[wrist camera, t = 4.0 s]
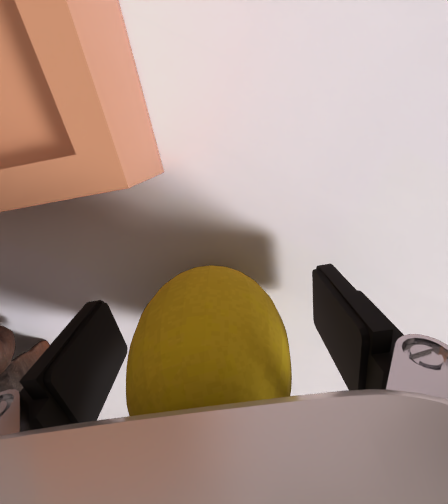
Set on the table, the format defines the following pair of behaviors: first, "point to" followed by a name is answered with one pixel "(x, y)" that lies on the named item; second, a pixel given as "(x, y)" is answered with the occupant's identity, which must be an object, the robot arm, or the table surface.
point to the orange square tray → (69, 103)
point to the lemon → (207, 345)
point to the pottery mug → (16, 360)
